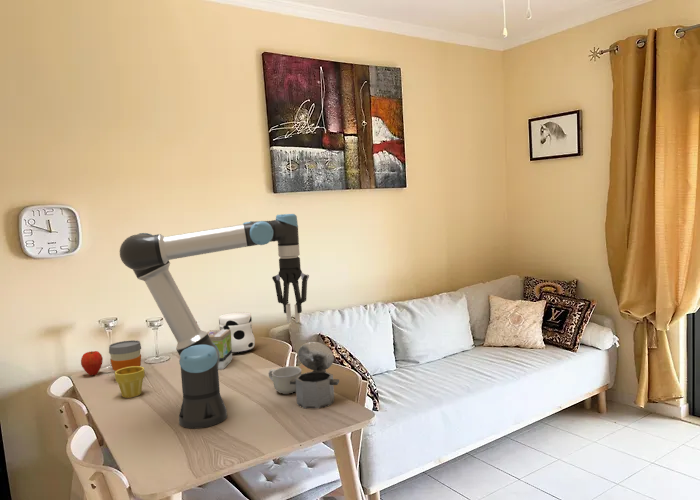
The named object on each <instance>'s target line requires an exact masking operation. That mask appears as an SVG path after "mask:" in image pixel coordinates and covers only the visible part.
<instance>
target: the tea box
mask: <svg viewBox="0 0 700 500" xmlns="http://www.w3.org/2000/svg"><path fill="white" fill-rule="evenodd" d="M206 332H207V333H208V335H209V337H210V339H211V341H212V342H213V343H214V344H215V345H216V346H217V348H218V350H219V355H220V359H219V365H218V370H225V368H226V367H227V366H228V365H229V364H230V363H231V362H232V361H233V354H232V344H231V330H230V329H227V330H220V329H211V330H210V329H209V331H206ZM231 360H232V361H231Z"/></svg>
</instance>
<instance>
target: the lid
mask: <svg viewBox="0 0 700 500" xmlns="http://www.w3.org/2000/svg"><path fill="white" fill-rule="evenodd" d="M297 357H298V360H299V362H300V364H302V365H303V367H306V368H307V369H309V370H312V371H313V370H315V371H322V370H326V371H327V370H328V369H329V368H331V366H332V365H333V363H334V354H333V351H332V350H331V349H330V347H329V346H328V345H326V344H325V343H322V342H320V341H307V342H305V343H303V344H302V345H301V346H300V347H299V349H298V351H297Z"/></svg>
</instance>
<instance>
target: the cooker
mask: <svg viewBox="0 0 700 500" xmlns="http://www.w3.org/2000/svg"><path fill="white" fill-rule="evenodd" d="M339 383H340V379H338V378H337V379H336V378H334V374H332V373H330V372H328V371H327V369H326V370H322V371H315V370H312V371H308V372H303V373H301V374H300V375H299V376H298V377H297V378H296V379H292V380H291V381H290V384H296V392H295V394H296V395H295V396H296V405H297V404H298V405H297V406H298V407H300V406H301V407H300V408H302V407H303V408H302V409H307V408H319V409H321V408H320V407H323V408H326V407H325V406H327V407H329V406H328V405H330V406H331V405H332V404H334V402H335V389H334V386H338V385H339Z"/></svg>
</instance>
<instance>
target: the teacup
mask: <svg viewBox="0 0 700 500" xmlns="http://www.w3.org/2000/svg"><path fill="white" fill-rule="evenodd" d="M300 374H302V368H300V367H299V366H295V365H293V366H292V365H290V366H282V367H279V368H276V369H275V368H272V369H270V370H269V371H268V378H269V379H270V380H271V381H272V382H273V383H272V384H273V387H274V390H275V391H276V392H278V393H280V394H281V393H283V394H282V395H289V394H288V393H292V394H294V393H293V392H295V393H296V384H290V381H291V380H292V379H296V378H297V377H298V376H299V375H300Z"/></svg>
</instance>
